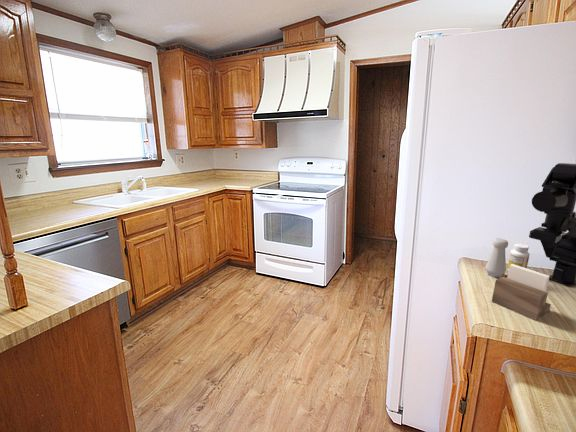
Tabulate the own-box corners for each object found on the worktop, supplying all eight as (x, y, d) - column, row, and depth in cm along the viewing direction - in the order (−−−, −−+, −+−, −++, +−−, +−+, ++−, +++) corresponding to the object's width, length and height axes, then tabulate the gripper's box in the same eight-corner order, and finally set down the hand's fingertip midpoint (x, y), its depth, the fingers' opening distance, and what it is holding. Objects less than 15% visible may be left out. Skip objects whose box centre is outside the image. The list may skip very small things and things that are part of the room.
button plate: (508, 287, 93) (513, 263, 91) (544, 301, 86) (551, 275, 84) (504, 289, 92) (509, 265, 90) (540, 304, 85) (547, 277, 83)
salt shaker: (507, 279, 104) (515, 243, 101) (488, 278, 105) (495, 242, 102) (499, 272, 110) (506, 237, 106) (481, 270, 111) (488, 236, 107)
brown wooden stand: (505, 293, 96) (510, 272, 94) (549, 310, 87) (555, 288, 85) (491, 301, 92) (495, 280, 90) (535, 320, 83) (541, 297, 81)
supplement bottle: (517, 267, 113) (523, 242, 110) (529, 274, 108) (535, 248, 105) (503, 268, 113) (508, 242, 110) (514, 274, 108) (520, 248, 105)
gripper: (585, 219, 79) (570, 275, 84) (609, 209, 89) (594, 259, 93) (533, 209, 88) (522, 260, 93) (560, 201, 98) (549, 247, 102)
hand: (548, 257), depth 95 cm, fingers closed
